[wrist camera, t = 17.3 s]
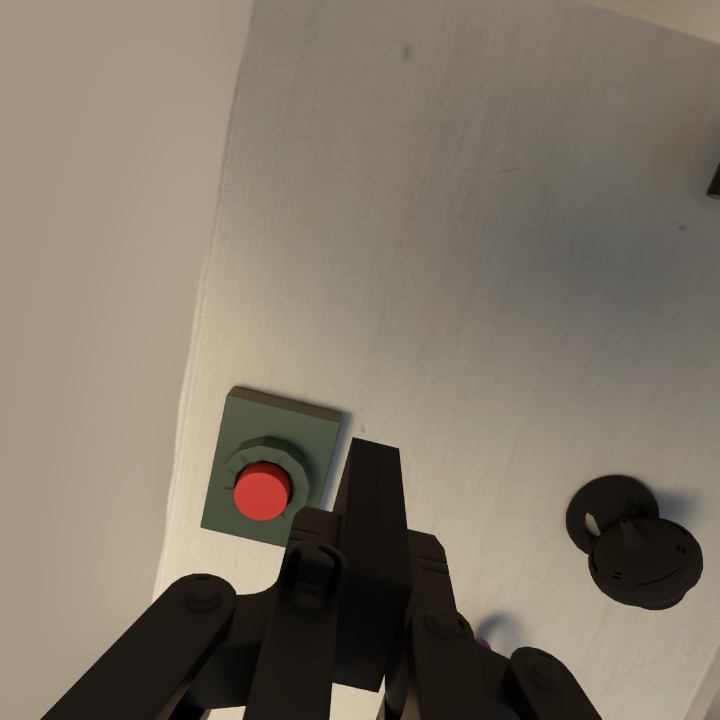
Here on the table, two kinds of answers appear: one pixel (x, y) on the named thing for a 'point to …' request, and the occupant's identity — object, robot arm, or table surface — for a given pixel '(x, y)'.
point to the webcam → (634, 545)
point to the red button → (262, 491)
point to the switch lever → (714, 185)
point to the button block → (269, 459)
